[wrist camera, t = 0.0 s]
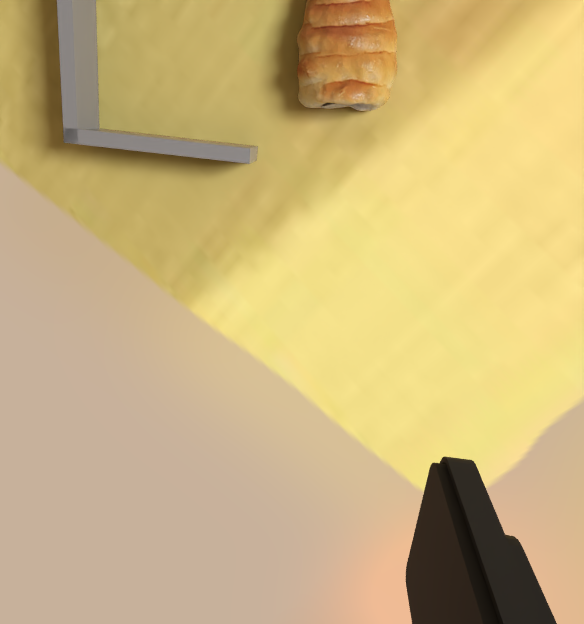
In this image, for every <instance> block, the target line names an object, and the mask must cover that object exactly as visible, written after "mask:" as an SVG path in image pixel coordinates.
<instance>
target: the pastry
mask: <svg viewBox="0 0 584 624" xmlns="http://www.w3.org/2000/svg"><path fill="white" fill-rule="evenodd" d="M396 42H397V32H396V29H395V25H394V17H393V14H392V11H391V8H390V2H389V0H307V2H306V7H305V13H304V22H303V25H302V28H301V30H300V31H299V33H298V36H297V44H298V47H299V64H298V68H297V75H298V80H299V93H298V99H299V101H300V103H301V104H303V105H304V106H305V107H309V108H325V109H332V108H341V107H347V106H349V107H352V108H354V109H356V110H360V111H365V110H369V111H371V110H375V109H377V108H379V107H381V106H382V105H384V104H385V103H386V102H387V100H388V99H389V95H390V89H391V86H392V84H393V82H394V80H395V77H396V74H397V60H396V52H397V51H396Z"/></svg>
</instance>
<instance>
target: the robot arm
mask: <svg viewBox="0 0 584 624" xmlns="http://www.w3.org/2000/svg"><path fill="white" fill-rule="evenodd" d="M406 587H407V593H408V599H409V606H410V612H411V618H412V624H557V623H556V621H555V619H554V616H553V614H552V612H551V610H550V608H549V606H548V603H547V601H546V599H545V596H544V594H543V592H542V590H541V587H540V585H539V583H538V581H537V579H536V576H535V574H534V572H533V570H532V567H531V565H530V563H529V561H528V558H527V556H526V554H525V552H524V550H523V548H522V546H521V544H520V542H519V541H518V539H516V538H515V537H514V536H508V535H505V533H504V531H503V529H502V527H501V524H500V522H499V519H498V517H497V514H496V512H495V510H494V507H493V505H492V502H491V500H490V498H489V495H488V493H487V491H486V488H485V486H484V483H483V481H482V479H481V476H480V474H479V471H478V469H477V467H476V464H475V463H474V461H472V460H466V459H459V458H451V457H443V458H442V459H441V461H440V464H439V463H432V464H431V466H430V470H429V474H428V478H427V482H426V487H425V491H424V495H423V500H422V504H421V508H420V512H419V516H418V520H417V524H416V529H415V533H414V537H413V541H412V545H411V549H410V554H409V558H408V562H407V567H406Z"/></svg>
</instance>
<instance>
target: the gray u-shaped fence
mask: <svg viewBox="0 0 584 624" xmlns="http://www.w3.org/2000/svg"><path fill="white" fill-rule="evenodd" d="M57 14H58V34H59V54H60V74H61V94H62V114H63V133H64V143H72V144H81V145H89V146H98V147H107V148H116V149H125V150H133V151H142V152H151V153H160V154H169V155H177V156H186V157H195V158H204V159H213V160H221V161H230V162H239V163H248V164H250V163H252V162H254V161H256V160H257V149H258V146H250V145H241V144H232V143H223V142H214V141H205V140H196V139H187V138H179V137H170V136H161V135H152V134H143V133H134V132H125V131H116V130H107V129H99V101H98V64H97V27H96V0H57Z"/></svg>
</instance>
